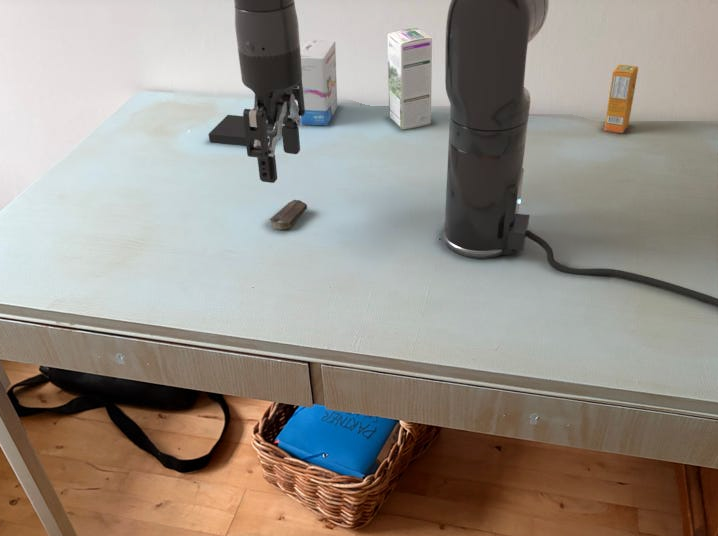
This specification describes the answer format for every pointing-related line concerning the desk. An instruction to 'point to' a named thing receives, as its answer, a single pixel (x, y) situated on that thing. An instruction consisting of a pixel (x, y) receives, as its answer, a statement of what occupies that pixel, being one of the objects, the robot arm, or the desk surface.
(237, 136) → the black pad
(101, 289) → the desk surface
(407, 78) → the syrup box
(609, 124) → the supplement box
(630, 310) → the desk surface
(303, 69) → the ink box
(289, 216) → the block
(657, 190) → the desk surface
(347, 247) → the desk surface
